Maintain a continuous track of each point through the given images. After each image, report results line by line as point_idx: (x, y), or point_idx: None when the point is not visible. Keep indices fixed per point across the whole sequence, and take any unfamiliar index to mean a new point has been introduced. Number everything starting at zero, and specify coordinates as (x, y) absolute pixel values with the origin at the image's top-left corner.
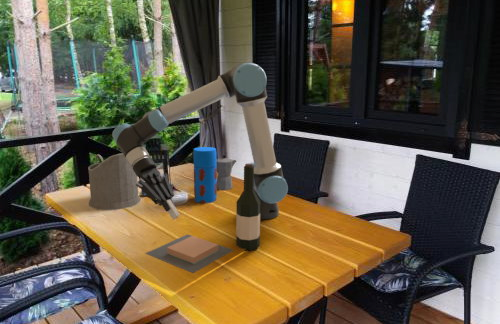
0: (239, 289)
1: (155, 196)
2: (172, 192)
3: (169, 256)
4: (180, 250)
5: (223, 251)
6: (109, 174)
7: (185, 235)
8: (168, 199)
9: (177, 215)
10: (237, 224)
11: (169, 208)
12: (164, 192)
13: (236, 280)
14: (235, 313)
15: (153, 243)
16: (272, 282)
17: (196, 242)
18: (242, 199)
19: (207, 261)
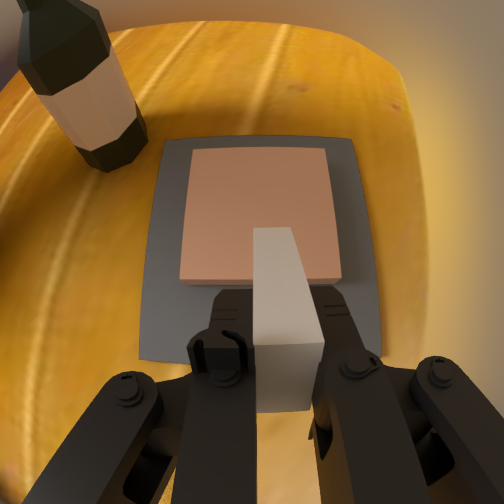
0: (311, 64)
1: (492, 410)
2: (93, 421)
3: (340, 263)
4: (321, 215)
5: (190, 152)
6: None
7: (153, 359)
8: (255, 375)
9: (281, 227)
10: (105, 102)
11: (315, 289)
12: (254, 500)
13: (289, 76)
14: (362, 52)
15: (284, 425)
16: (249, 45)
17: (224, 216)
18: (79, 9)
19: (276, 146)
